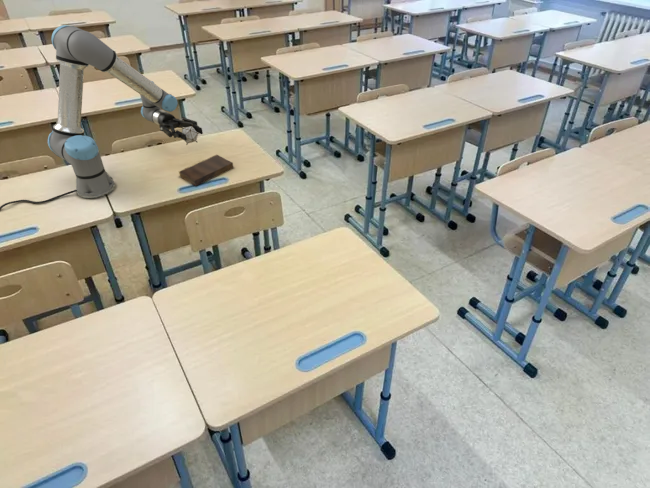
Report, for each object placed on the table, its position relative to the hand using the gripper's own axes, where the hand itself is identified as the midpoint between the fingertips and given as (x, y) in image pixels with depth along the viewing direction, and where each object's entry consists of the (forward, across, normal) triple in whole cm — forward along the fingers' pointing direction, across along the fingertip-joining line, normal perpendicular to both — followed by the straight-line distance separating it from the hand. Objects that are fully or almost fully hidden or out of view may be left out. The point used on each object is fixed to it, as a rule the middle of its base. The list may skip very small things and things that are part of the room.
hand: (193, 134), depth 205 cm
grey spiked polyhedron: (-5, -1, -6) cm, 8 cm away
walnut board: (+6, +1, -17) cm, 18 cm away
